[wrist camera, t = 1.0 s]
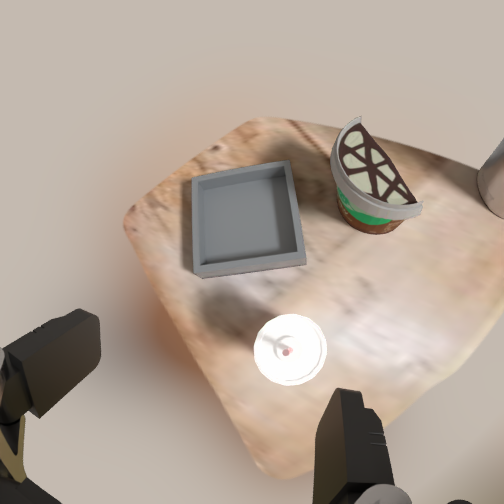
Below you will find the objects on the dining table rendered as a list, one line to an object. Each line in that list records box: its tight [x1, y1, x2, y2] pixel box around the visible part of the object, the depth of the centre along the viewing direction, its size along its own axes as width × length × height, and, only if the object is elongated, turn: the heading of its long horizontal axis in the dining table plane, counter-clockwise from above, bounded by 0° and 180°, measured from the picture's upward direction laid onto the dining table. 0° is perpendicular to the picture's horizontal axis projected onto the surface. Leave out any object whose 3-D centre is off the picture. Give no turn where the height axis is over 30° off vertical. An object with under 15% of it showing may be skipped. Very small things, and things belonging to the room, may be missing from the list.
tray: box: [192, 160, 306, 279], centre depth 36 cm, size 13×13×3 cm
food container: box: [330, 116, 423, 235], centre depth 31 cm, size 12×6×10 cm, turn 23°
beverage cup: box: [254, 314, 327, 386], centre depth 26 cm, size 6×6×14 cm
